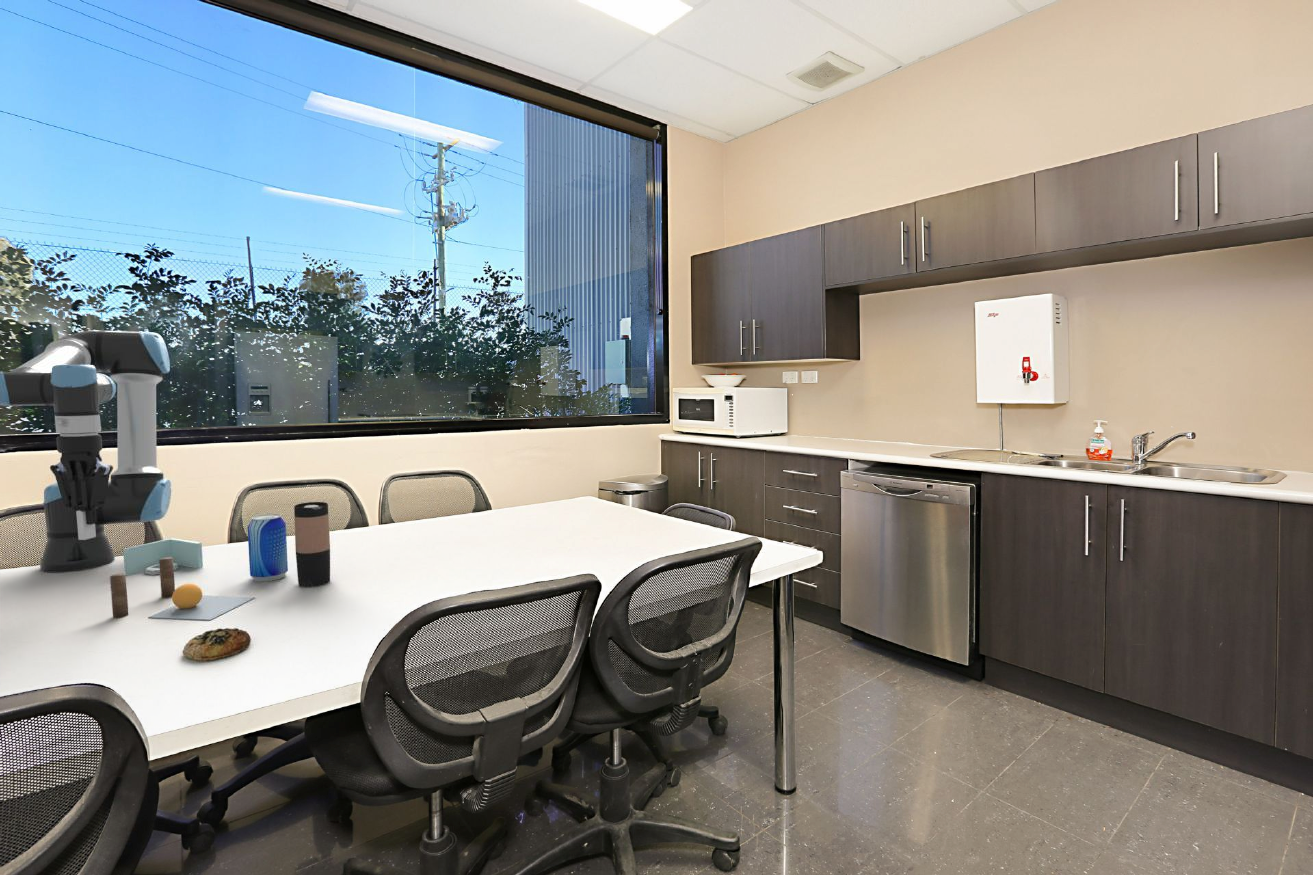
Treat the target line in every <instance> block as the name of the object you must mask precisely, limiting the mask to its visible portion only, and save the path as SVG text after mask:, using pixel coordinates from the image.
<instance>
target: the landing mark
mask: <svg viewBox="0 0 1313 875" xmlns="http://www.w3.org/2000/svg"><path fill="white" fill-rule="evenodd" d="M254 599H256V597H255V596H234V595H233V596H232V595H231V596H230V595H206V594H205V595H204V594H202V599H201V601H200V602H199V603H198V604H197V605H196V606H194V607H192V608H188V609H182V608H179V607H177V606H175V605H172V606H171V607H169V608H166V609H164V610H162V611H159V612H156V613H155V614H152V615H150V616H148V617H147V618H148V619H162V620H165V619H166V620H189V621H190V620H191V621H209V622H210V621H212V620H214V619H217V618H219V617H220V616H222V615H224V614H226V613H228V612H230V611H232V610H235V609H236V608H238V607H240V606H242V605H244V604H246V603H248V602H250V601H252V600H254Z"/></svg>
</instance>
